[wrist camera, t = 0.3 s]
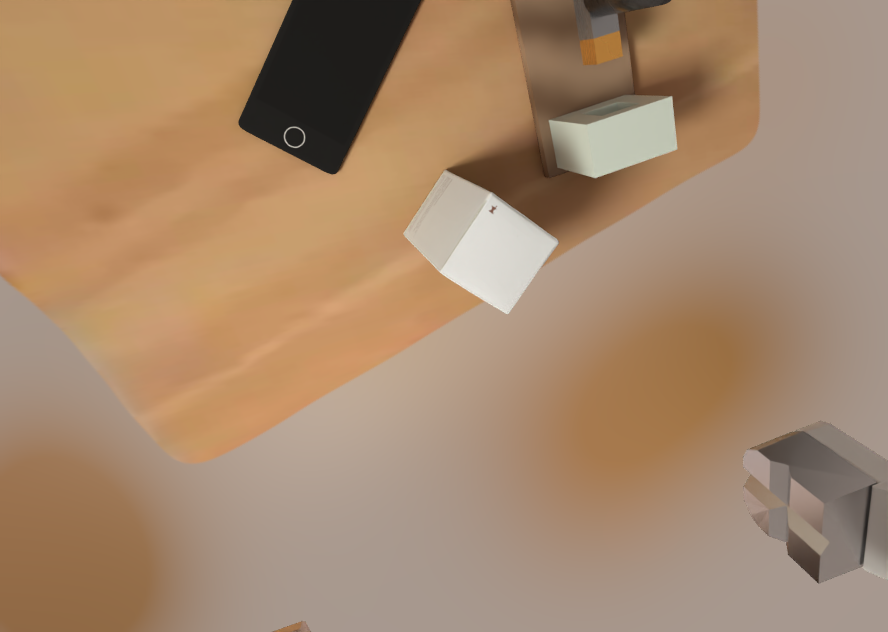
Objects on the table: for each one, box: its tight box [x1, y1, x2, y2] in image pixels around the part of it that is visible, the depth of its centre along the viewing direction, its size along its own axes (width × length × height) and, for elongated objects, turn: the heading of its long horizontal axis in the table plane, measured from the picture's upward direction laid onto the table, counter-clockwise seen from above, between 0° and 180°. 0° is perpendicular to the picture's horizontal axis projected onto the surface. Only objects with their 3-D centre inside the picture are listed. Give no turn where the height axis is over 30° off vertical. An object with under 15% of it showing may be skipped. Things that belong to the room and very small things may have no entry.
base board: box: [511, 0, 635, 178], centre depth 54 cm, size 26×10×1 cm, turn 15°
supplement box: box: [404, 170, 559, 314], centre depth 52 cm, size 7×7×13 cm
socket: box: [549, 95, 677, 178], centre depth 54 cm, size 4×8×7 cm, turn 106°
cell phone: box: [239, 0, 421, 174], centre depth 50 cm, size 9×18×1 cm, turn 150°
